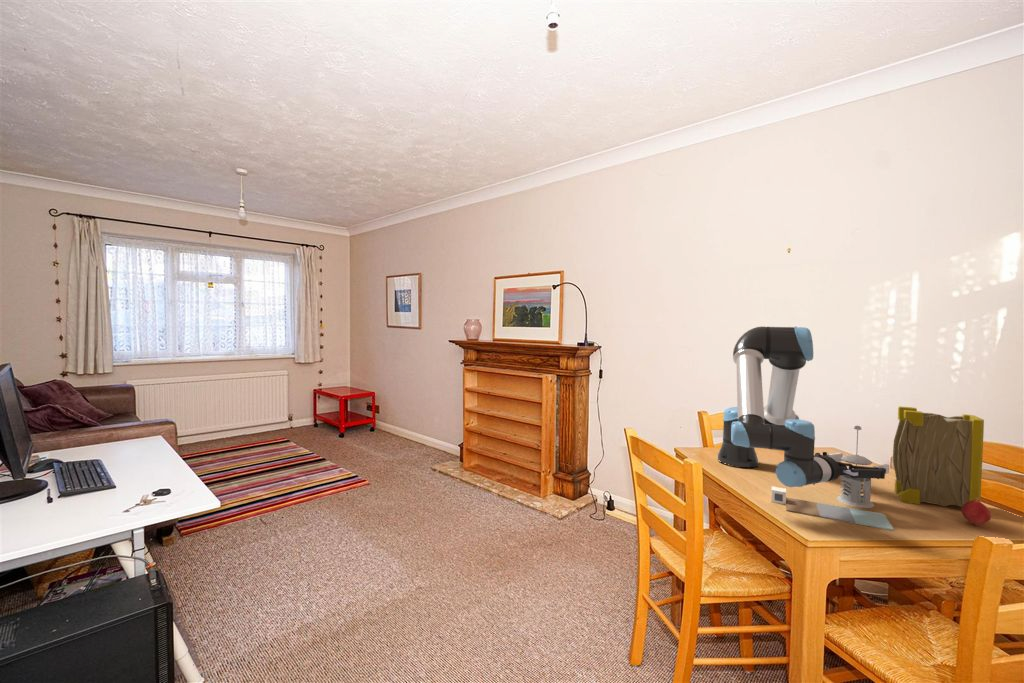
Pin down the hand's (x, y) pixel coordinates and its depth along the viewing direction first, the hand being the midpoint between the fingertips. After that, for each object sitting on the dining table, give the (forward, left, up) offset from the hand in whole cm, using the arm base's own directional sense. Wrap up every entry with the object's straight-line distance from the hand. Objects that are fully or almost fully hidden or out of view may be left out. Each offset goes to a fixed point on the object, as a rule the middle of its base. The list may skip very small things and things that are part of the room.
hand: (863, 462), depth 145 cm
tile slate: (-9, -16, -13) cm, 23 cm away
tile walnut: (-18, -16, -13) cm, 27 cm away
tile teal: (-1, -16, -13) cm, 21 cm away
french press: (-2, -2, -13) cm, 13 cm away
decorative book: (+20, +12, -13) cm, 27 cm away
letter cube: (-24, -14, -13) cm, 31 cm away
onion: (+25, -5, -13) cm, 29 cm away
